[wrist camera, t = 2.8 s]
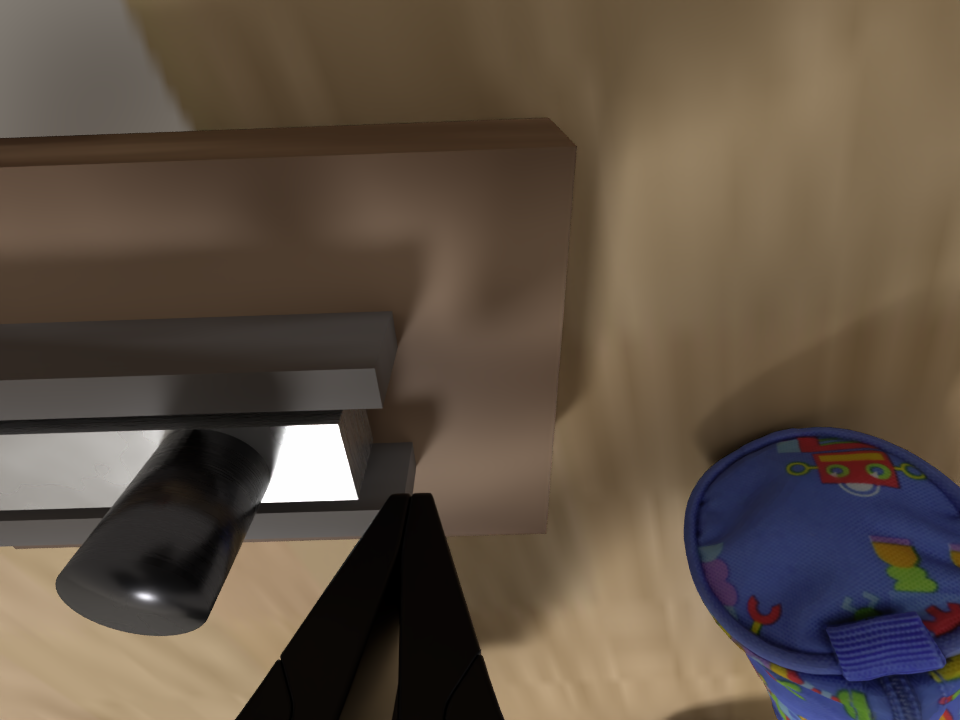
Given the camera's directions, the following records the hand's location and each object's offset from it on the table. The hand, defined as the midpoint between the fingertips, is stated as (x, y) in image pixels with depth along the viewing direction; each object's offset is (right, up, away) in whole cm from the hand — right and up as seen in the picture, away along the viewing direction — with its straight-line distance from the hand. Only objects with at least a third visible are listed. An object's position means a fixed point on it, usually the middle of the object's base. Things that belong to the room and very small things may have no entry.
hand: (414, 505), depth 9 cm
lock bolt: (-8, +2, +3) cm, 8 cm away
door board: (-6, +4, +6) cm, 9 cm away
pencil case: (+17, -7, +15) cm, 24 cm away
